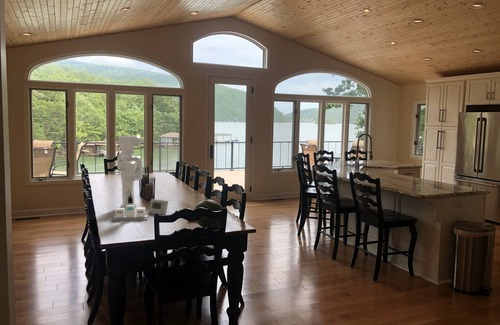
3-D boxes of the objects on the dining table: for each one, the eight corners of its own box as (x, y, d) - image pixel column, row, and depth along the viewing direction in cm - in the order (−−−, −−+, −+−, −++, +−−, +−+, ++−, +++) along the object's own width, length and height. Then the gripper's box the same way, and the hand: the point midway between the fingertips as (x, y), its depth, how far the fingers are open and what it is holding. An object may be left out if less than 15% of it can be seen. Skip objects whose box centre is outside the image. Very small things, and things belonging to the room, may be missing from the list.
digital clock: (147, 212, 318) (147, 199, 317) (156, 210, 326) (155, 197, 324) (161, 216, 309) (161, 202, 308) (170, 213, 316) (170, 200, 315)
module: (127, 215, 302) (126, 205, 301) (135, 215, 303) (135, 204, 302) (126, 217, 297) (125, 206, 296) (134, 217, 298) (134, 206, 297)
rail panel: (115, 216, 304) (114, 206, 304) (148, 216, 308) (148, 206, 307) (111, 221, 292) (111, 210, 291) (146, 220, 295) (146, 210, 294)
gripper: (126, 177, 303) (126, 201, 305) (122, 180, 288) (123, 205, 290) (136, 177, 304) (137, 201, 306) (133, 180, 289) (134, 205, 291)
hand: (130, 203), depth 298 cm, fingers closed
